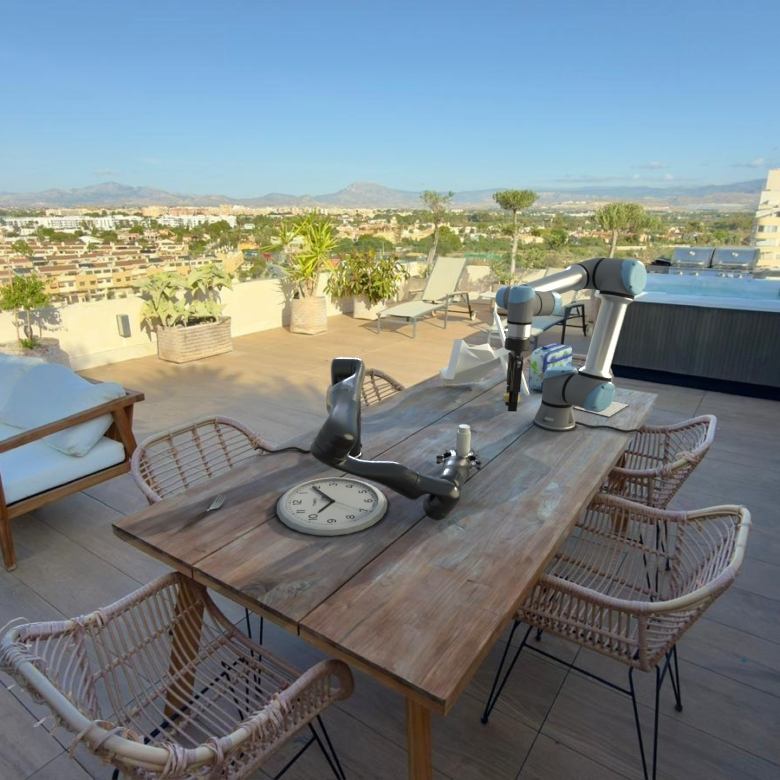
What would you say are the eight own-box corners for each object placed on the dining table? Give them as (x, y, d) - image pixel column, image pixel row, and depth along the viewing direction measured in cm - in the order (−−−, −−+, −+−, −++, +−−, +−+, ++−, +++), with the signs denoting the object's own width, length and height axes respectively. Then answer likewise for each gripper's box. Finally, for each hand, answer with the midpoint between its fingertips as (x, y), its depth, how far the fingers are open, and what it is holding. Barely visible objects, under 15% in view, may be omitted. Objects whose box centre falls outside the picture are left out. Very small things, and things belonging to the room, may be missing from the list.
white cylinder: (462, 476, 160) (465, 429, 156) (451, 472, 163) (454, 426, 159) (470, 472, 163) (474, 426, 159) (460, 468, 166) (462, 422, 161)
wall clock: (392, 527, 129) (268, 531, 127) (391, 533, 130) (269, 537, 127) (383, 473, 158) (282, 475, 155) (383, 478, 158) (282, 480, 156)
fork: (178, 529, 130) (177, 522, 129) (219, 499, 144) (218, 493, 144) (187, 531, 129) (186, 524, 129) (227, 501, 143) (226, 494, 143)
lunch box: (544, 395, 239) (549, 351, 233) (524, 390, 247) (528, 347, 240) (571, 384, 257) (577, 343, 251) (552, 380, 264) (556, 339, 258)
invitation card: (608, 416, 214) (573, 407, 224) (608, 416, 214) (573, 408, 224) (628, 404, 229) (594, 396, 238) (628, 405, 229) (594, 397, 238)
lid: (506, 397, 171) (506, 391, 170) (521, 399, 168) (521, 394, 168) (501, 401, 167) (502, 395, 166) (516, 403, 164) (517, 398, 164)
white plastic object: (461, 429, 252) (437, 405, 227) (444, 352, 274) (420, 323, 250) (535, 404, 240) (518, 377, 215) (510, 326, 262) (492, 293, 237)
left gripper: (479, 464, 145) (487, 441, 161) (429, 457, 149) (442, 435, 165) (477, 489, 147) (486, 464, 163) (428, 481, 151) (441, 457, 167)
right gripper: (501, 331, 170) (495, 399, 177) (509, 342, 153) (502, 417, 160) (524, 332, 170) (517, 400, 177) (535, 343, 153) (527, 418, 159)
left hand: (463, 450), depth 164 cm, fingers closed on white cylinder, 4 cm apart
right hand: (510, 408), depth 168 cm, fingers closed on lid, 5 cm apart
